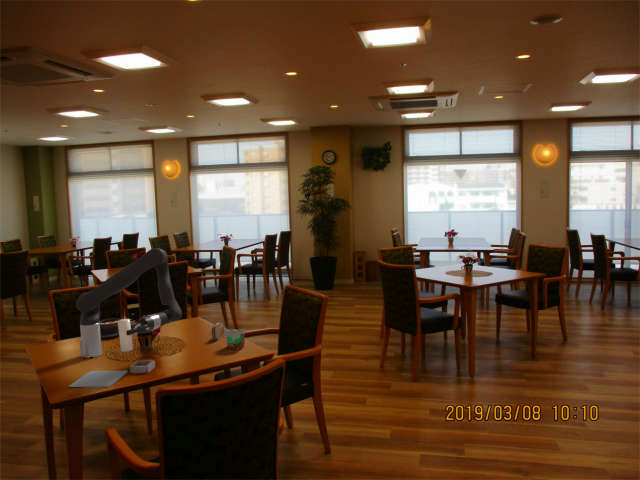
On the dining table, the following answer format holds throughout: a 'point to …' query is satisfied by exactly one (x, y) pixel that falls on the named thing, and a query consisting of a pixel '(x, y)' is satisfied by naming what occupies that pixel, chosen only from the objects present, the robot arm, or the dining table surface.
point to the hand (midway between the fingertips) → (122, 332)
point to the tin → (218, 330)
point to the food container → (235, 338)
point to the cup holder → (142, 366)
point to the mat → (98, 379)
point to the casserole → (109, 327)
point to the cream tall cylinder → (125, 335)
